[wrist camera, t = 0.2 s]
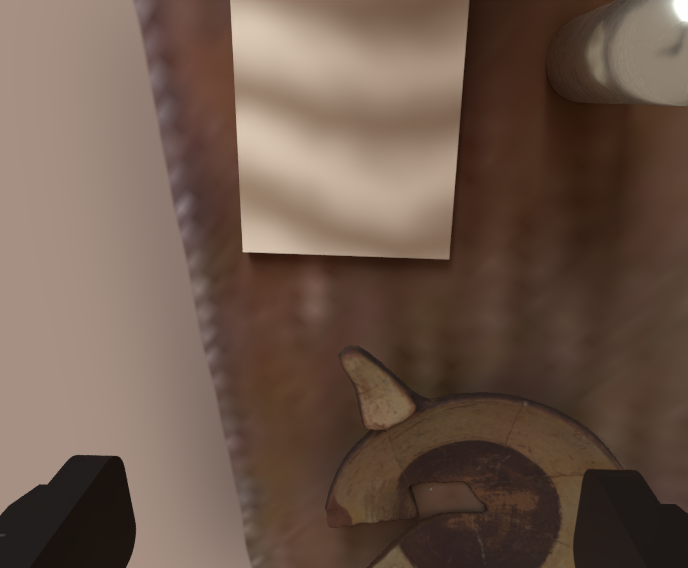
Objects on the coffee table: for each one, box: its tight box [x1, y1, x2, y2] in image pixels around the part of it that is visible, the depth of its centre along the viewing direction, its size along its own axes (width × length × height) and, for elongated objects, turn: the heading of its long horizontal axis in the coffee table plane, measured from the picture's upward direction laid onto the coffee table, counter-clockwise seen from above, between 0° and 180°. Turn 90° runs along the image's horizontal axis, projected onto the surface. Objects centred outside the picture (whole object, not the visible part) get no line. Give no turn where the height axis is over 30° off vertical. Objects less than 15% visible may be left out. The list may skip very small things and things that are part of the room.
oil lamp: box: [325, 346, 623, 568], centre depth 40 cm, size 22×30×8 cm
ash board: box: [230, 0, 469, 259], centre depth 34 cm, size 19×14×1 cm
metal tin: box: [546, 0, 688, 106], centre depth 27 cm, size 5×5×13 cm
